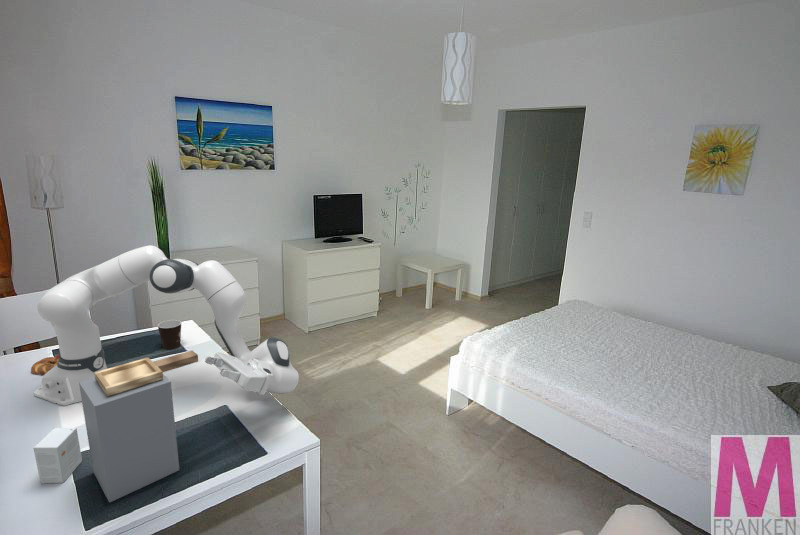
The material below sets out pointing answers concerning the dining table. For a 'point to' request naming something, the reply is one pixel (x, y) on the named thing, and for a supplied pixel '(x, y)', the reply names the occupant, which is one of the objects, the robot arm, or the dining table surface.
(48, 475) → the small box
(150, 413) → the tall grey pillar block
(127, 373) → the oak tray
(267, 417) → the dining table surface
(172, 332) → the coffee mug
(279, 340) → the robot arm
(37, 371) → the pretzel
